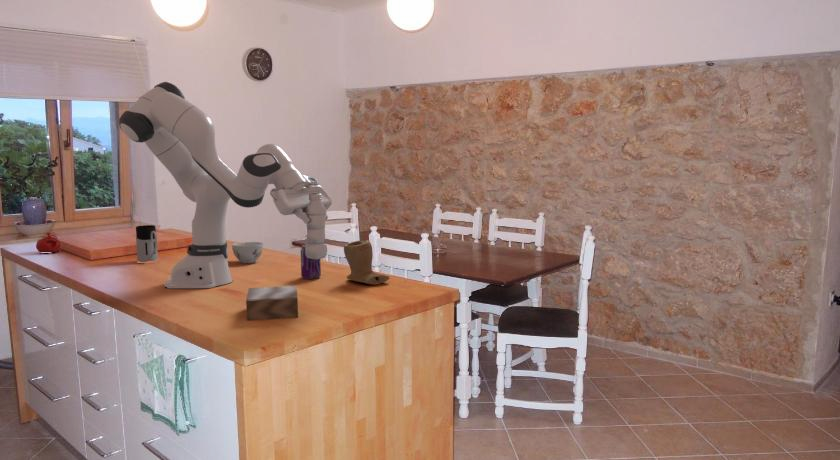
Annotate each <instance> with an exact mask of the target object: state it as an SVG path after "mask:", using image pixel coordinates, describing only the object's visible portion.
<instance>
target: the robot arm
mask: <svg viewBox="0 0 840 460" xmlns="http://www.w3.org/2000/svg"><path fill="white" fill-rule="evenodd" d="M118 125H119V128H120V129H121V132H123V133H124V135H126V137H128V138H129V139H130V140H131V141H133V142H136V143H140V144H141V143H145V145H146V147H147V148H148V149H149V150H150V152H151V153H152V154H153V155H154V156H155V157H156V158H157V159H158V161H159V162H160V163H161V164H162V165H163V166H164V168H165V169H167V171H168V172H169V173H170V174H171V176H172V178H173V179H174V180H175V182H176V184H178V185H177V186H179V188H180V189H181V190H182V193H183V195H184V196H185V197H186V198H187V199H188V200H190V201H191V202H193V203H196V206H195V212H194V216H193V219H192V220H191V233H192V235H191V236H192V243H188V244H187V245H186V253H187V255H186V256H185V257H183V258H182V259H181V260H180V261H178V262H177V263H176V264H175V265H173V267H172V270H171V274H170V278H169V279H167V280H165V282H164V288H165V287H167V288H166V289H210V288H215V287H217V286H223V285H226V284H227V285H228V284H230V283H232V282H233V278H232V275H231V272H230V268H229V262H228V261H229V260H228V257H229V249H228V248H229V247H228V242H227V240H226V216H227V209H228V205H229V200H230V199H231V200H232V201H233V203H235V204H236V205H238V206H240V207H242V208H247V209H248V208H254V207H257V206H260V205H261V204H262V203H263V200H264V197H265V193H266V191H267V189H268V186H269V185H274V188H272V189H271V190H270V192H269V195H270V196H271V197H272V201H273V203H274V205H275V207H276V208H277V210H278V212H279V213H280V214H281V215H282V216H289V215H291V216H292V215H295V216H296V217H297V218H298V219H300V220H301V221H303V223H304V224H305V225H306V223H310V221H311V218H310V217H309V216H307V215H305V208H306V206H307V205H308V203H309V202H310V200H309V194H310V193H321V198H322V200H321V202H322V204H323V205H324V206H325V208H326V211H327V210H329V208H330V207H331V206H332V203H333V200H332V198H331V196H330V195H329V193H328V192H327V191H326V190H325V188H324V187H323V186H321V185H320V181H319V180H318V179H317V178H315V177H310V176H308V175H305V174H302V173H301V171H300V170H298V169H297V168H296V167H295V166H294V162H293V160H292V159H291V158H290V157H289V155H288V154H287V153H286V152H285V151H284V150H283V149H282V147H280V146H278V145H277V144H274V143H266V144H263V145H262V146H260V147H259V148H258V149H257V151H256V152H255V153H253V154H249V155H246V156H245V157H244V158H243V160H242V162H241V164H240V166H239V168H238V172H237V174H236V172H234V171H233V170H232V169H231V168H230V167H229V166H228V165H227V164H226V163H225V162H224V161H223V160H222V159H221V158H220V156H219V154H218V151H217V147H216V138H215V137H216V131H215V125H214V123H213V121H212V119H211V118H210V117H209V116H208V114H206V113H205V112H204V111H203V110H202V109H200V108H198V106H197V105H194V104H193V103H191V102H190V101H189V100H187V99H186V97H185V95H184V94H183V92H182V91H181V90H180V88H179V87H177V86H176V85H175V84H173V83H171V82H168V81H163V82H160V83H158V84H156V85H154V87H153V88H150V89H149V90H148V91H147V92H145V93H144V94H142V95H141V96H140V97H139V98H138V99H137V100H136V101H135V102H134V103H133V104H132V105H131V106H130V107H129V108H128V109H127V110H125V111H123V113H122V114H121V115H120V117H119V118H118ZM328 219H329V216H328V214H326V220H325V222H326V221H327V220H328Z"/></svg>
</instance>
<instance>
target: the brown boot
mask: <svg viewBox="0 0 840 460" xmlns="http://www.w3.org/2000/svg"><path fill="white" fill-rule="evenodd" d="M343 254H344V256H345V260H346V261H347V263H348V266H349V268H350V274H348V275H347V276H346V279H347V280H349V281H352V282H356V283H361V284H362V283H363V284H368V285H374V286H375V285H376V286H377V285H380V284H381V285H382V284H383V283H386V282H388V281H389V280H390V276H388V275H385V274H381V273H377V272H374V271H373V266H372V265H373V264H372V263H373V257H374V256H373V254H374V253H373V246H372V243H371V242H370V240H368V239H366V240H355V241H351V242H348V243H346V244H344V246H343Z"/></svg>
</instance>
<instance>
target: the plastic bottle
mask: <svg viewBox="0 0 840 460" xmlns="http://www.w3.org/2000/svg"><path fill="white" fill-rule="evenodd" d="M309 200H310V202H309V203H308V205H307V206H306V208H305V213H304V214H305V215H307V216H309V217H310V218H311V221H310V223H306V224H305V225H306V227H305V228H306V242H305V245H306V246H305V254H306V256H307V258H310V259H320V260H321V259H324V258H326V257H327V253H328V247H327V243H326V242H327V241H326V233H325V232H326V229H325V228H326V221H327V220H326V215H327V210H326V208H325V206H324V205H323V204H322V202H321V200H322V198H321V193H310V194H309ZM325 220H326V221H325Z"/></svg>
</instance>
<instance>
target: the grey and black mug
mask: <svg viewBox="0 0 840 460" xmlns="http://www.w3.org/2000/svg"><path fill="white" fill-rule="evenodd" d="M135 232H136V233H135V235H136V237H135V243H136V245H135V246H136V259H137V261H140V262H147V261H155V260H159V258H158V256H159V255H158V254H159V253H158V236H157V228H156V225H154V224H153V225H152V224H150V225H149V224H146V225H145V224H143V225H138V226H137V225H136V226H135ZM137 261H136V262H137Z"/></svg>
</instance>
